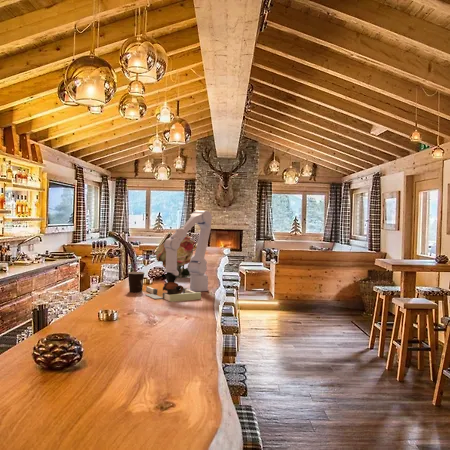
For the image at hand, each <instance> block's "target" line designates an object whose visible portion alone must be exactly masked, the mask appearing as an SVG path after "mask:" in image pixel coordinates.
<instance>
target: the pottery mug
mask: <svg viewBox="0 0 450 450" xmlns="http://www.w3.org/2000/svg"><path fill="white" fill-rule="evenodd" d="M175 287H176V288H175ZM184 288H185V287H184V286H183V285H181V284H179V283H177V282H176V281H175V282H169V283H167V282H166V283H164V284H163V287H162V291H166V293H167V294H168V295H172V294H183V290H184Z"/></svg>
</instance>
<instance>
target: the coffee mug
mask: <svg viewBox="0 0 450 450" xmlns="http://www.w3.org/2000/svg"><path fill="white" fill-rule="evenodd" d="M127 276H128V277H127V278H128V289H129V290H128V291H129V293H135V294H137V293H142V292H143V287H144V279H145V272H144V271H128V272H127Z"/></svg>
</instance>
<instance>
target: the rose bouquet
mask: <svg viewBox="0 0 450 450" xmlns="http://www.w3.org/2000/svg"><path fill="white" fill-rule="evenodd" d="M192 237H193V235H192V234H190V235H189V234H188V233H187V236H186V237H185V238H184V239H183V240H182V241H181V243H180V247H179V248H178V249H177V271H178V272H179V275H177V277H176V279H182V278H183V279H185V278H186V279H189V278H190V272H189V271H188V267H186V268H185V266H186V265H188V264H189V263H190V260H191V258H192V257H193V256H194V255H193V254H194V251H196V248H195V245H197V242H196V241H195V240H193V239H191V238H192ZM164 243H165V242H163V243H161V244H160V245H158V248H156V251H154V255H155V259H156V261H157V262H158V263H161V265H162V266H163V268H166V249H165V247H164Z"/></svg>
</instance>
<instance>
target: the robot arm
mask: <svg viewBox="0 0 450 450" xmlns="http://www.w3.org/2000/svg"><path fill="white" fill-rule="evenodd" d="M212 220H213V215H212V213H211V211H209V210H197V209H196V210H194V211H193V212H192V213H190V217H189V219H188V220H186V222H185V223H184V225H183V226H182V227H179V228H177V229H175V232H174V233H173V234H171V236H170V238H167V239H166V240H164V242H163V243H164V247H165V249H166V268H165V267H163V269H164V272H167V274H165V276H164V277H165V278H166V281H167V282H166V283H169V282H175V283H176V279H177V278H176V277H177V275H179V272H178V271H177V249H178V248H179V247H180V243H181V241H182V240H183V239H184V238H185V237H186V236H187V234H188V232H189V230H191V229H192V228H193V227H194V226H195V225H198V226H199V228H200V230H199V235H198V239H197V242H196V248H195V249H196V250H195V252H194V255H193V256H192V257H191V260H190V263H188V264H187V268H188V271H189V272H190V277H189V278H190V279H189V281H190V282H189V288H187V289H188V290H190V291H193V292H196V293H197V292H207V291H209V278H208V277H209V276H208V275H207V274H206V271H207V270H208V269H207V264H208V261H207V259H205V256H206V251H207V247H208V244H209V243H208V242H209V239H210V234H211V230H212Z"/></svg>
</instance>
